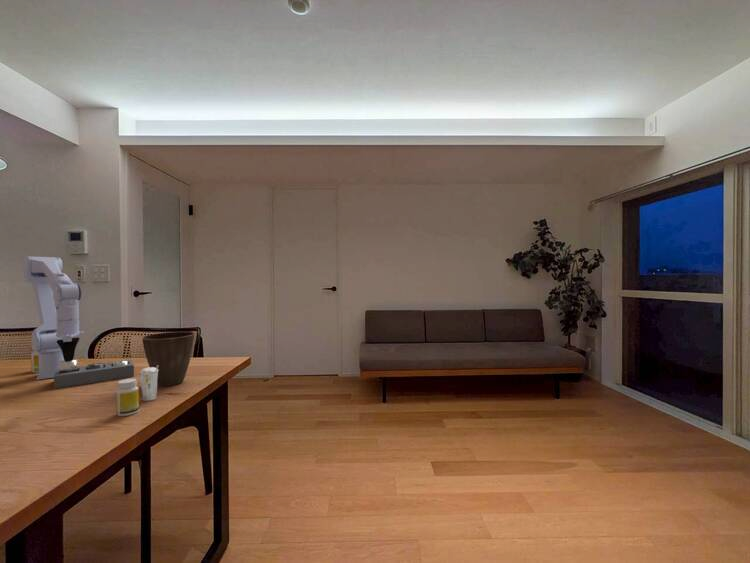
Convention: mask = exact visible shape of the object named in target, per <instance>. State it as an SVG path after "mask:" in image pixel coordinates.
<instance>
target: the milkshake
mask: <svg viewBox="0 0 750 563" xmlns="http://www.w3.org/2000/svg"><path fill="white" fill-rule="evenodd" d="M158 366H159V365H157V368H155V367H144V368H142V369H141V370H140V371H139V377H140V385H141V394H142V401H143V402H151V401H153V400H156V399H157V398H158V397H157V396H158V395H157V394H158V385H157V380H158Z"/></svg>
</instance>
